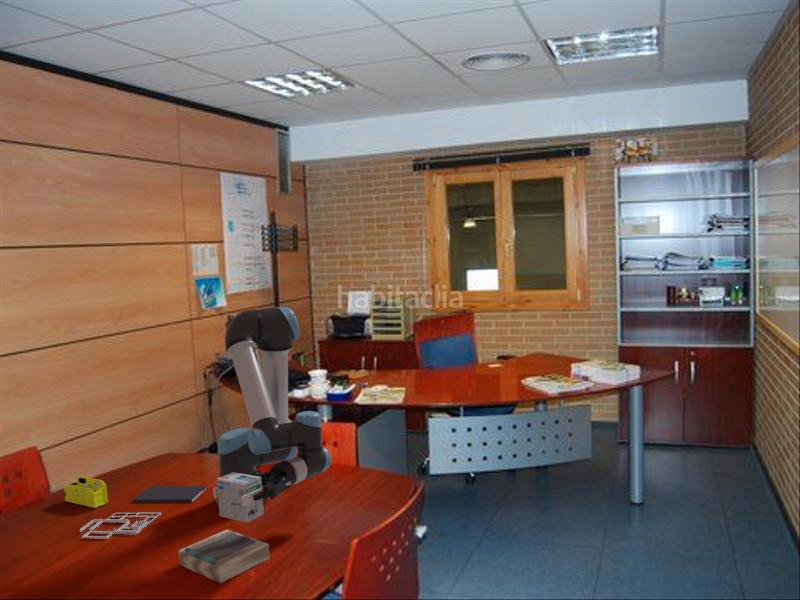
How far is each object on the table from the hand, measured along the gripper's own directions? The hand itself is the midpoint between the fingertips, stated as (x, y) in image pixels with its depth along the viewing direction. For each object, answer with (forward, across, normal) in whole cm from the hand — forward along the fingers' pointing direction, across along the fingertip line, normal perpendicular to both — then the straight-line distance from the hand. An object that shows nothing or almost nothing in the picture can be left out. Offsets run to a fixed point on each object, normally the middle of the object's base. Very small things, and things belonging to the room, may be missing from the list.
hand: (228, 497), depth 181 cm
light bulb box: (-4, 0, -7) cm, 8 cm away
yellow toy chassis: (-2, +79, -19) cm, 81 cm away
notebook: (-22, +59, -19) cm, 66 cm away
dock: (+1, +2, -18) cm, 18 cm away
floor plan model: (+6, +49, -19) cm, 53 cm away
